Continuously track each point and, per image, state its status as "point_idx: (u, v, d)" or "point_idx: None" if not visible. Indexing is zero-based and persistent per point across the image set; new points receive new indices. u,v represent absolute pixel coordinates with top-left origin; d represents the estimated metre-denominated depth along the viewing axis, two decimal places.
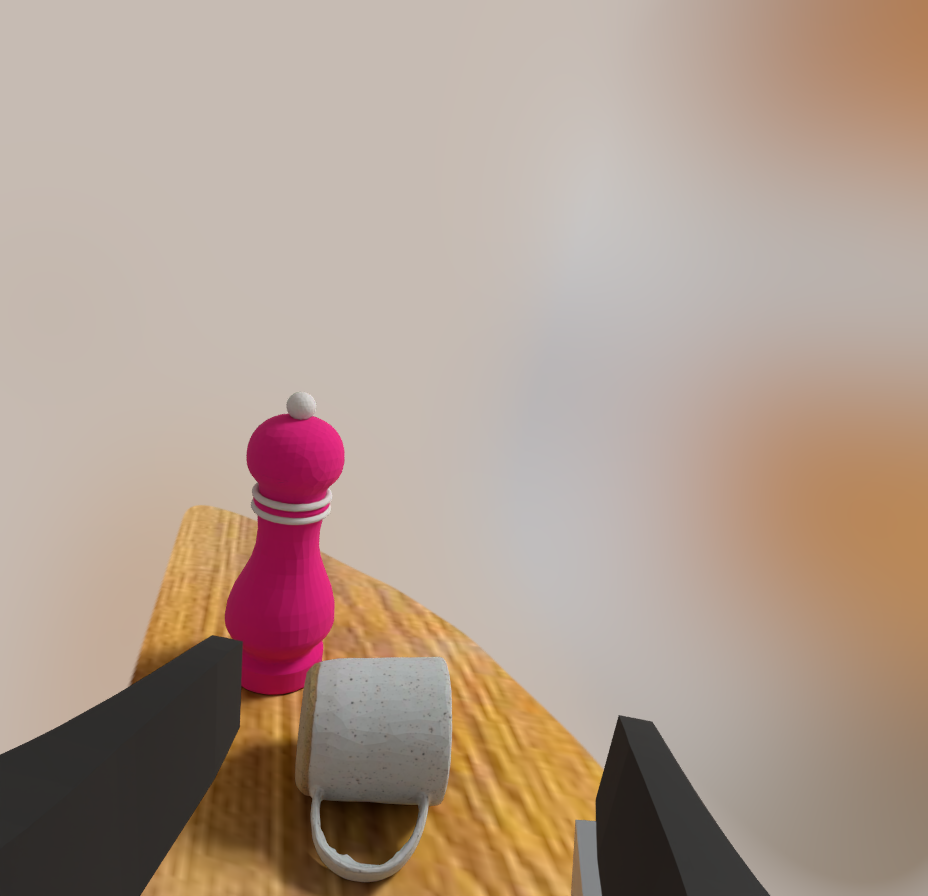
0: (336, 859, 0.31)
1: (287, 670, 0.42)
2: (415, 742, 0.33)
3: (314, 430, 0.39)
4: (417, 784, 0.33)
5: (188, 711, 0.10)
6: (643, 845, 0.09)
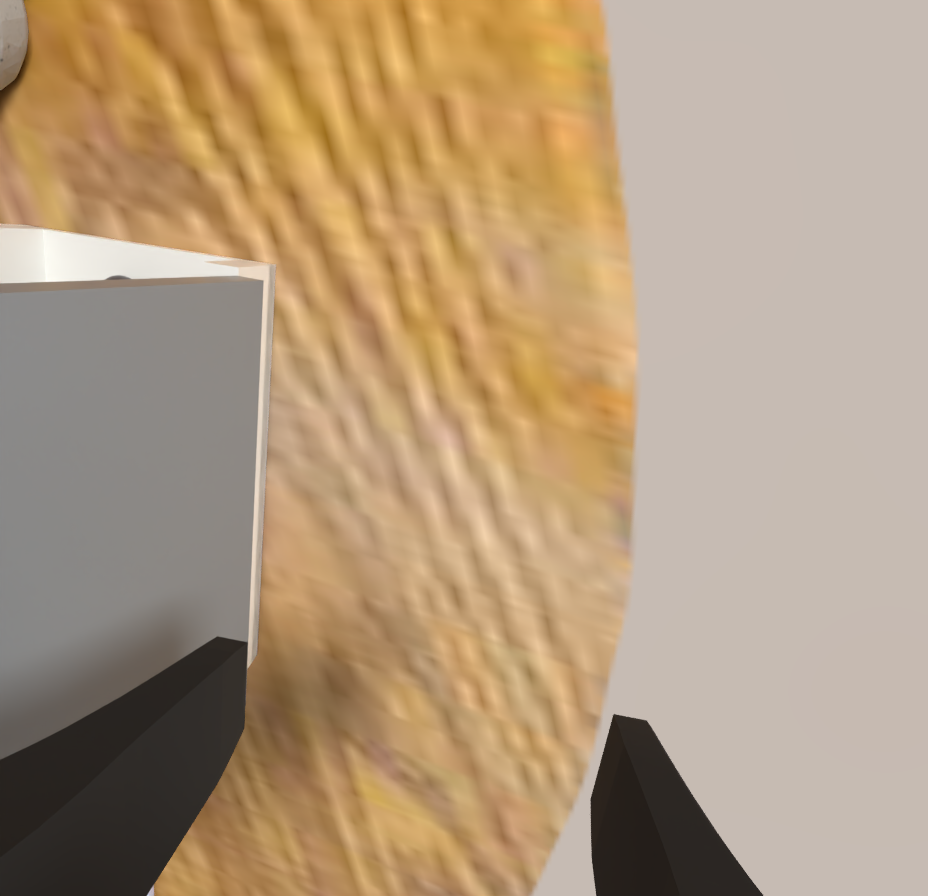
0: None
1: None
2: None
3: None
4: None
5: (193, 712, 0.10)
6: (637, 844, 0.09)
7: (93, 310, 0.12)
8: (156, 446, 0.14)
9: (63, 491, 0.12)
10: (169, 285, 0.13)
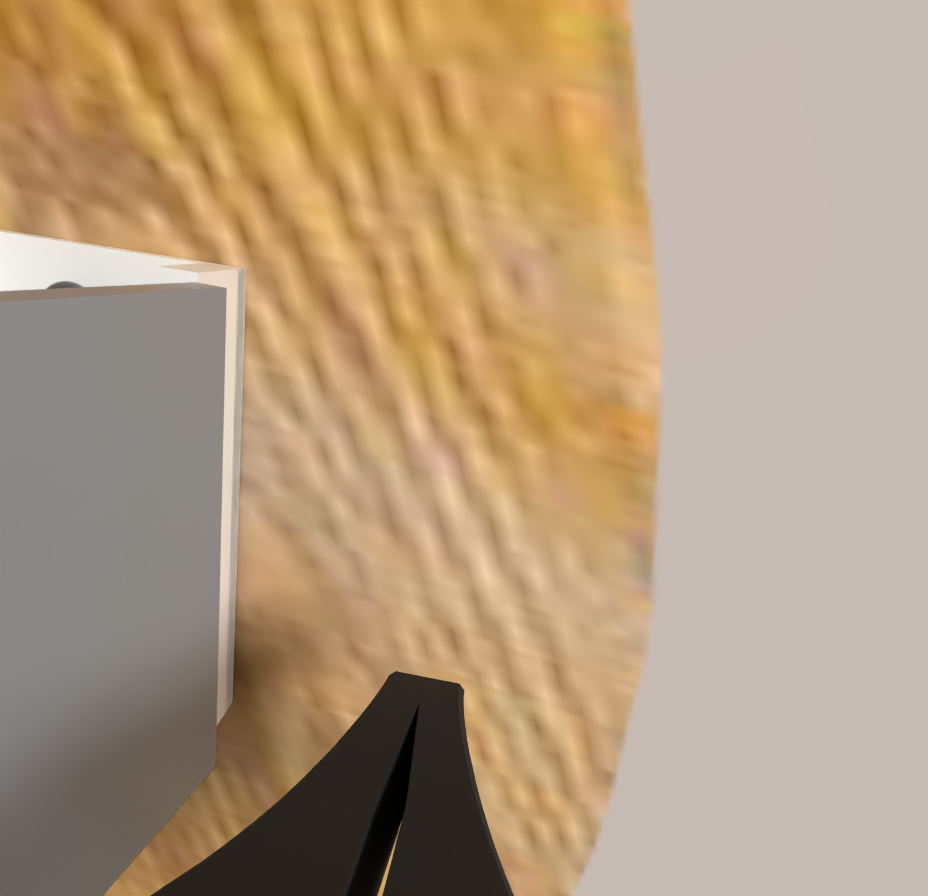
0: None
1: None
2: None
3: None
4: None
5: (402, 755, 0.10)
6: None
7: None
8: (90, 490, 0.12)
9: None
10: (101, 296, 0.11)
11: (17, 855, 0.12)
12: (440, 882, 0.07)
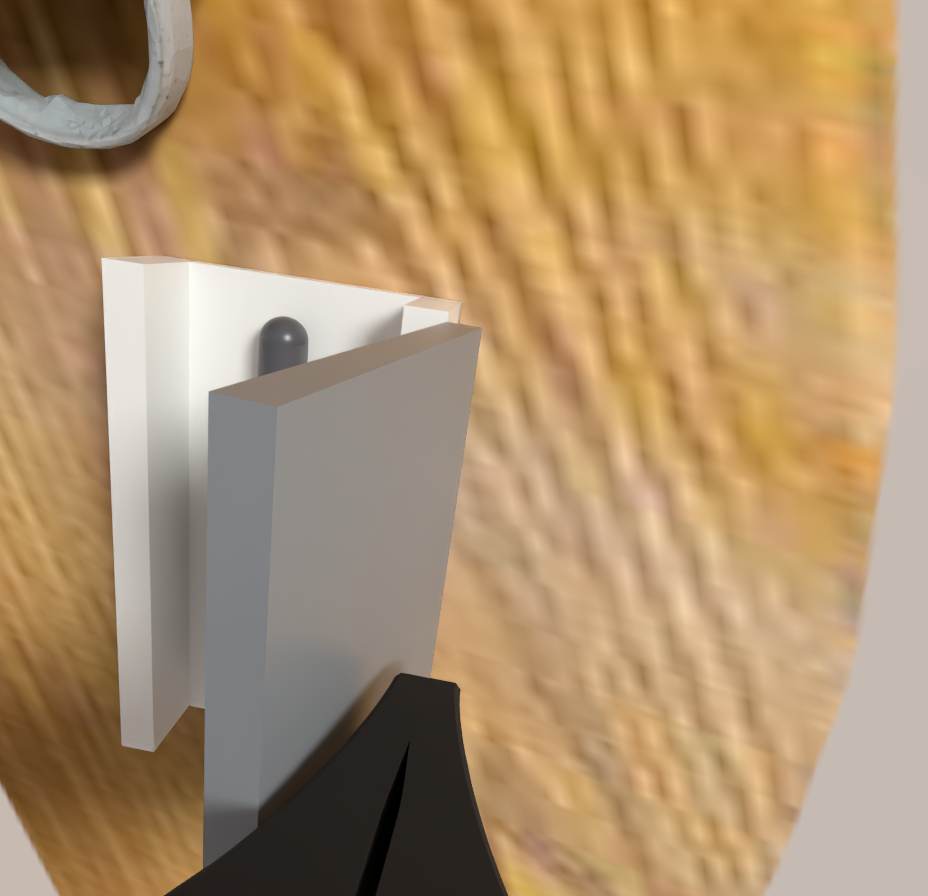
0: (26, 129, 0.15)
1: None
2: None
3: None
4: None
5: None
6: None
7: (378, 394, 0.09)
8: (397, 545, 0.11)
9: (332, 629, 0.09)
10: (427, 349, 0.11)
11: None
12: (434, 881, 0.07)
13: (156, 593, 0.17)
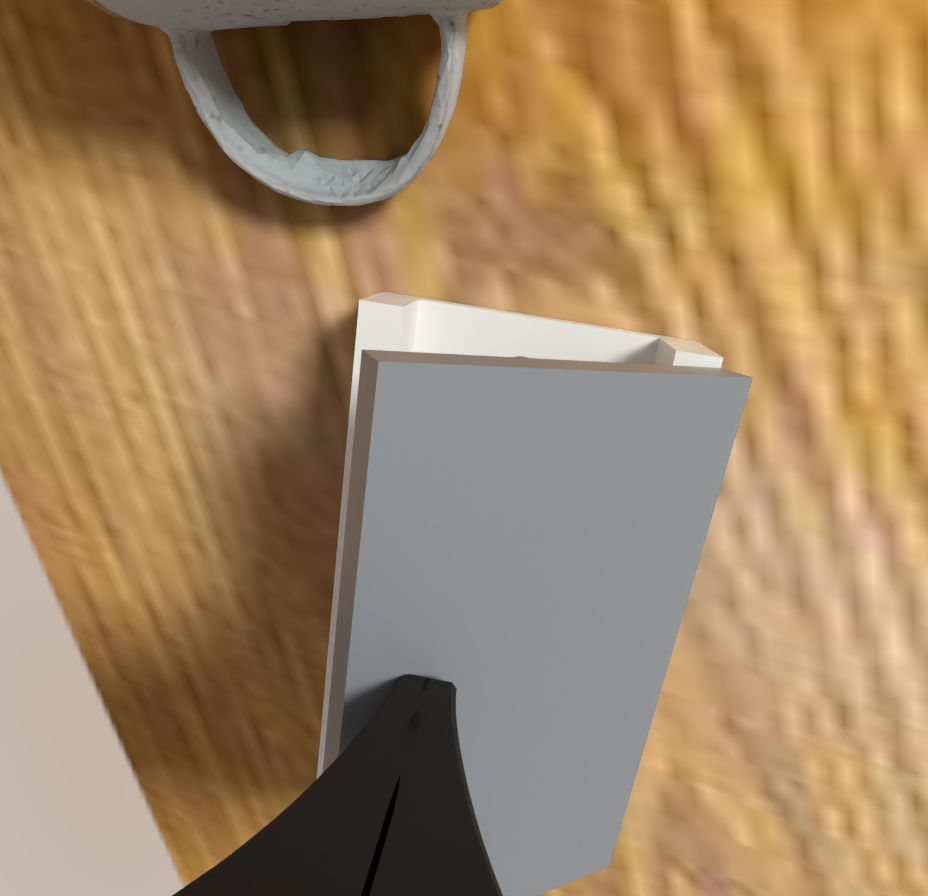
0: (278, 187, 0.15)
1: None
2: None
3: None
4: (412, 5, 0.11)
5: None
6: None
7: (523, 390, 0.11)
8: (564, 547, 0.12)
9: (450, 571, 0.11)
10: (620, 372, 0.11)
11: None
12: (428, 879, 0.07)
13: None
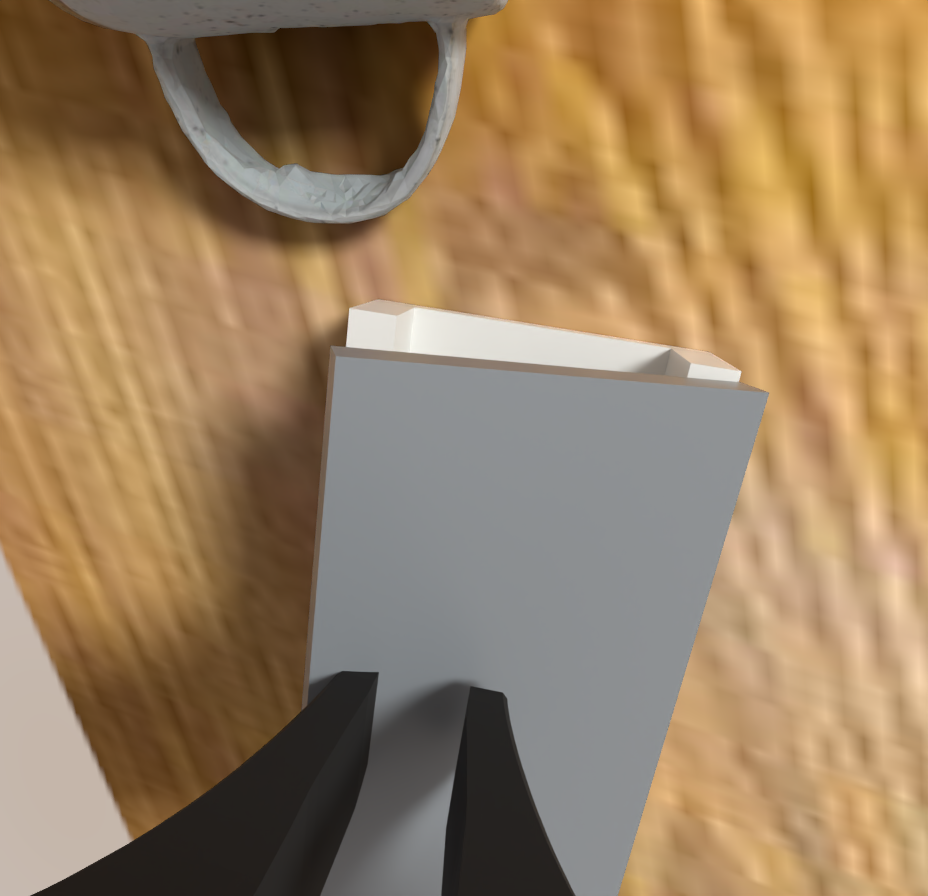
0: (266, 203, 0.14)
1: None
2: None
3: None
4: (407, 11, 0.11)
5: (348, 744, 0.10)
6: (459, 806, 0.09)
7: (495, 393, 0.10)
8: (547, 561, 0.12)
9: (419, 574, 0.11)
10: (607, 379, 0.11)
11: (398, 850, 0.13)
12: None
13: None
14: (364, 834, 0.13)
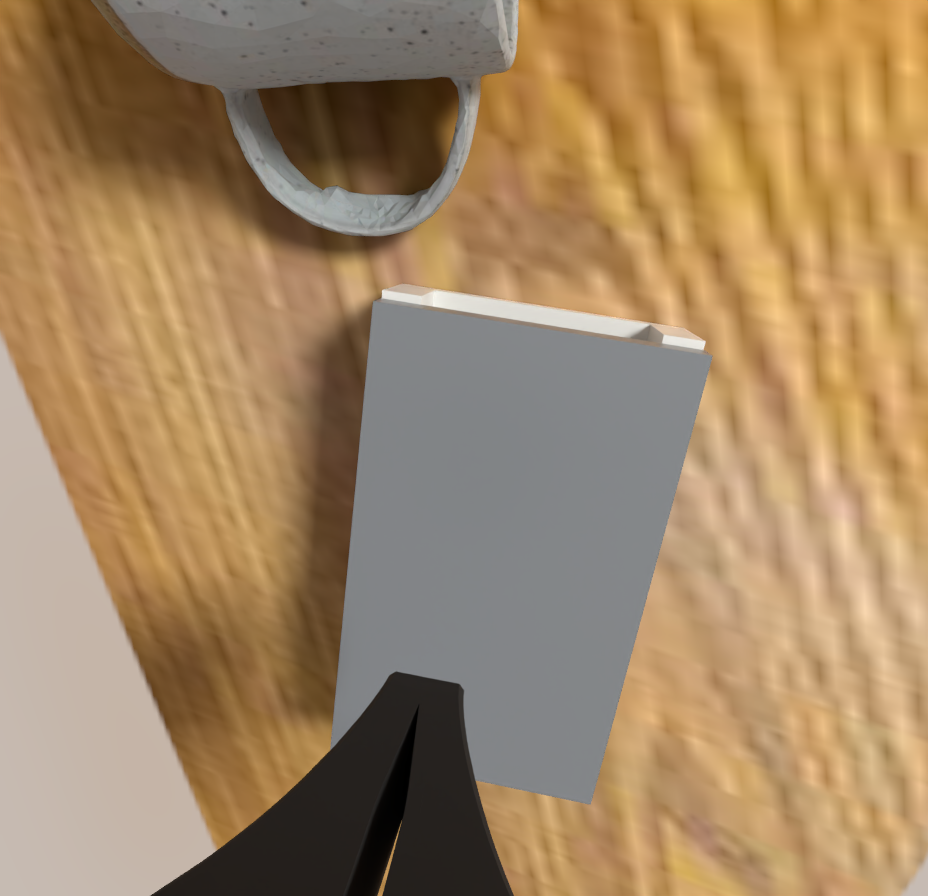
0: (313, 219, 0.17)
1: None
2: (393, 8, 0.11)
3: None
4: (435, 73, 0.13)
5: (403, 755, 0.10)
6: None
7: (477, 334, 0.15)
8: (519, 467, 0.16)
9: (425, 458, 0.16)
10: (563, 332, 0.15)
11: (410, 671, 0.18)
12: (440, 882, 0.07)
13: None
14: (386, 649, 0.18)
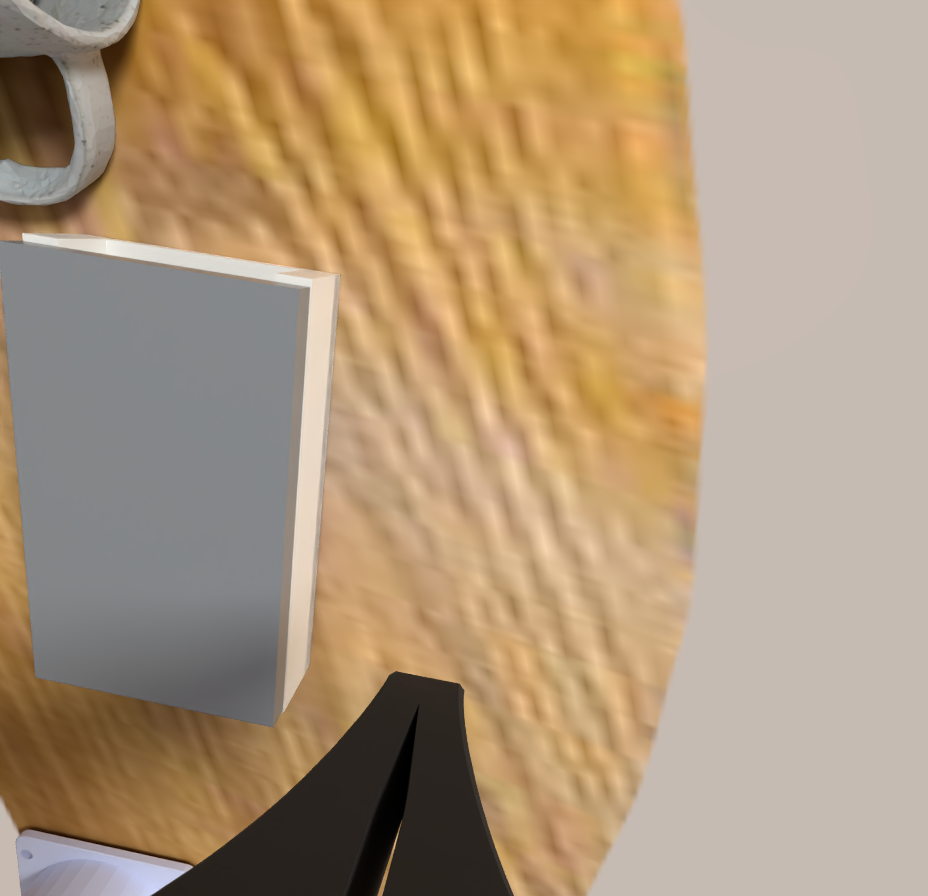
0: None
1: None
2: None
3: None
4: (16, 50, 0.15)
5: (403, 755, 0.10)
6: (406, 796, 0.09)
7: (93, 271, 0.16)
8: (152, 398, 0.17)
9: (69, 391, 0.17)
10: (167, 268, 0.16)
11: (92, 599, 0.19)
12: (440, 882, 0.07)
13: None
14: (67, 577, 0.19)
